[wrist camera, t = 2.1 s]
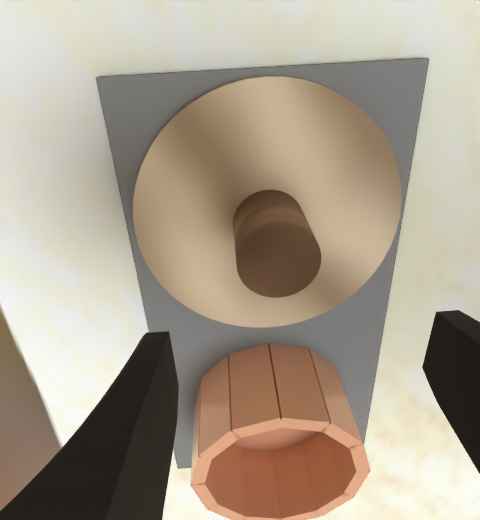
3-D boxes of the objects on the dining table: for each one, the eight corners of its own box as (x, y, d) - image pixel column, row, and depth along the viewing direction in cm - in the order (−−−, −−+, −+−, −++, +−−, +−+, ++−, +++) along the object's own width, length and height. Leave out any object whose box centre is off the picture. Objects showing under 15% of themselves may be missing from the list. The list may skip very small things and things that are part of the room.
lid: (263, 0, 14) (279, -10, 11) (445, 204, 19) (501, 247, 15) (84, 228, 19) (50, 278, 15) (268, 352, 23) (279, 414, 19)
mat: (98, 76, 16) (96, 77, 15) (424, 58, 16) (429, 58, 16) (178, 463, 28) (177, 468, 28) (360, 449, 29) (362, 454, 28)
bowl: (268, 319, 22) (281, 391, 17) (370, 392, 25) (402, 467, 21) (167, 407, 25) (157, 487, 20) (270, 462, 28) (280, 540, 24)
